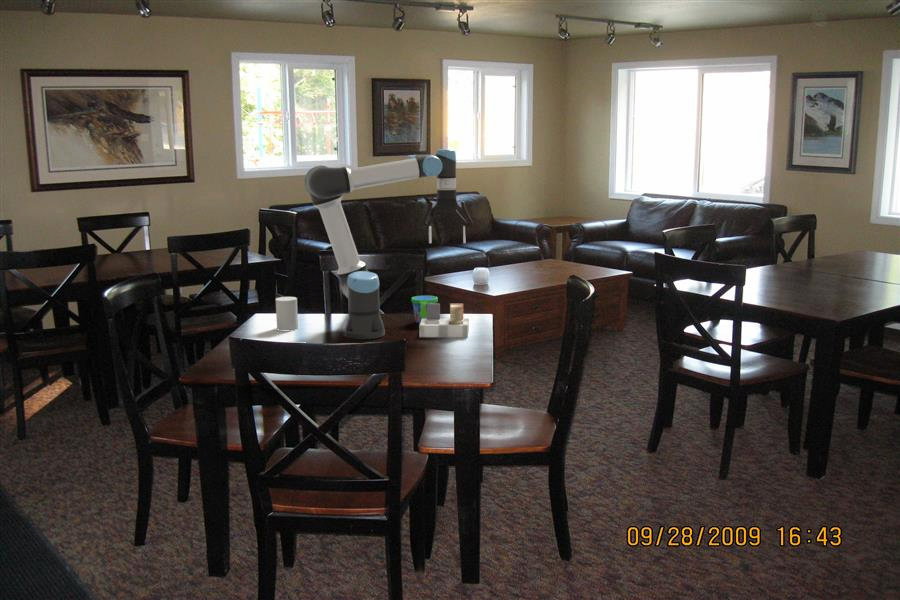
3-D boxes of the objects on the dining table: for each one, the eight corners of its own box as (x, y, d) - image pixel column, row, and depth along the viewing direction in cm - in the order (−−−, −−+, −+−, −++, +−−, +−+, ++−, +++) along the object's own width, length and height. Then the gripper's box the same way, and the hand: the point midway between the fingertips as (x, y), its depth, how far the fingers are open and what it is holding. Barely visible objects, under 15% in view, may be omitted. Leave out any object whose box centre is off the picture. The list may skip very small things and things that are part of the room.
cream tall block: (450, 335, 316) (450, 307, 314) (450, 333, 320) (450, 305, 318) (461, 335, 316) (461, 307, 314) (461, 333, 320) (461, 304, 318)
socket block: (419, 337, 314) (419, 309, 312) (422, 329, 326) (421, 303, 324) (467, 337, 313) (467, 309, 311) (468, 329, 325) (468, 303, 323)
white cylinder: (286, 325, 335) (285, 296, 333) (302, 327, 331) (301, 297, 329) (272, 329, 328) (271, 299, 326) (288, 332, 324) (287, 301, 322)
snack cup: (416, 317, 347) (415, 293, 345) (441, 318, 346) (440, 294, 344) (408, 326, 332) (407, 301, 330) (434, 327, 330) (434, 301, 328)
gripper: (414, 190, 328) (415, 244, 332) (478, 189, 326) (478, 243, 330) (416, 188, 335) (417, 241, 339) (478, 188, 333) (479, 241, 338)
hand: (447, 242), depth 335 cm, fingers open, 13 cm apart
